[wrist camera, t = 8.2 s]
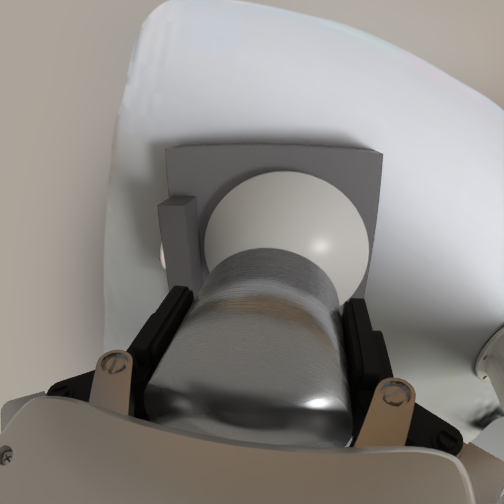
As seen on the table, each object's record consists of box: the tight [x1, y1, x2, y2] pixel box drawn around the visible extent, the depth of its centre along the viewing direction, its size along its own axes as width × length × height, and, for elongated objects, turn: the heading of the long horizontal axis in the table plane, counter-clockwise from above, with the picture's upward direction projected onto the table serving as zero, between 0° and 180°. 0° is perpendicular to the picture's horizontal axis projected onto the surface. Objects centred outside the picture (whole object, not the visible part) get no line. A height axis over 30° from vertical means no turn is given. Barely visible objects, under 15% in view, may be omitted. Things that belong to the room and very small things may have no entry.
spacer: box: [143, 248, 353, 447], centre depth 10 cm, size 6×6×6 cm
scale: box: [158, 144, 383, 316], centre depth 28 cm, size 19×19×6 cm
